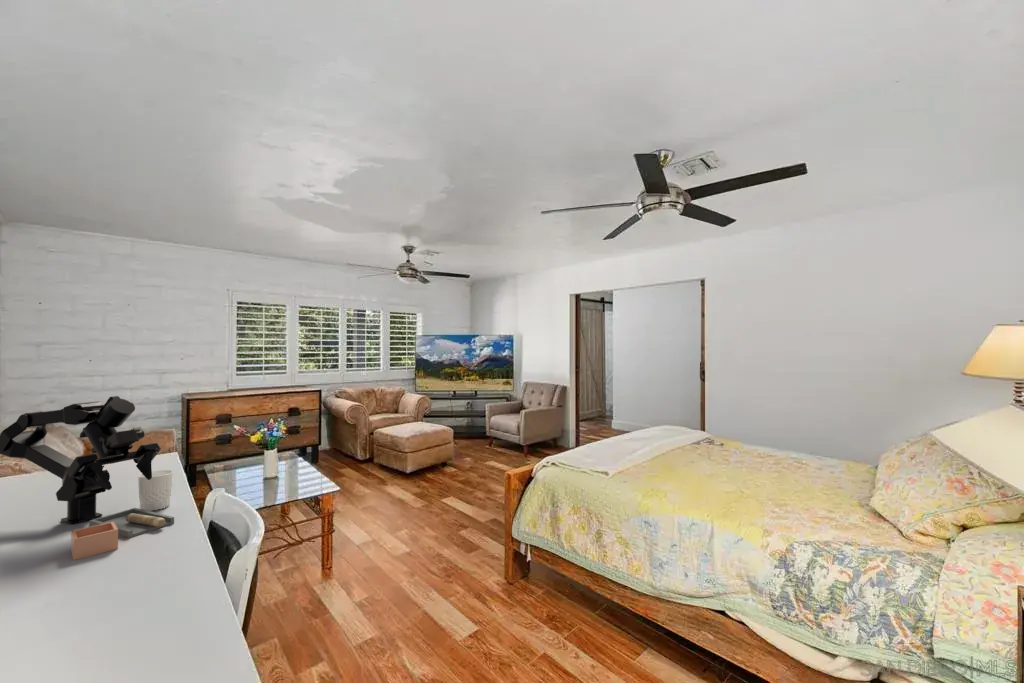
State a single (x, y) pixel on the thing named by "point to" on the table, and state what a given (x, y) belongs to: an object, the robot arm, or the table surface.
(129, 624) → the table surface
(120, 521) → the slate tray
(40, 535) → the table surface
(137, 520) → the birch dowel
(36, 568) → the table surface
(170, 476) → the white cup
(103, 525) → the terracotta box
